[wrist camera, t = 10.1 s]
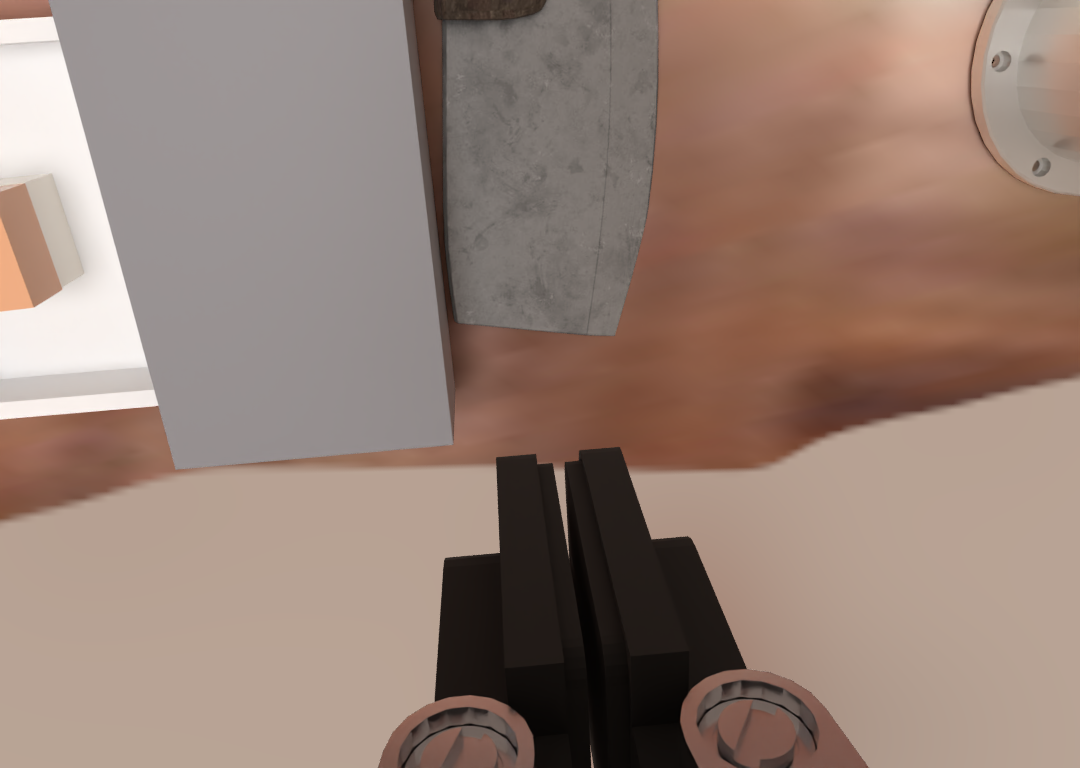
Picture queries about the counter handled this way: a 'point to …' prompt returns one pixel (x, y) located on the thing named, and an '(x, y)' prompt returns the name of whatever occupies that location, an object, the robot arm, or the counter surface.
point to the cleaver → (546, 158)
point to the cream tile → (52, 224)
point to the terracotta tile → (23, 253)
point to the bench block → (270, 219)
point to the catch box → (100, 293)
